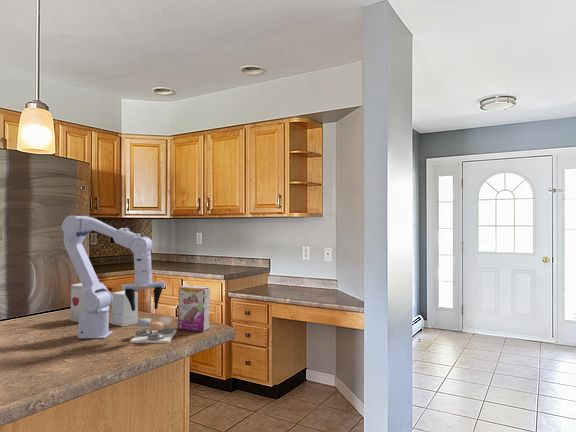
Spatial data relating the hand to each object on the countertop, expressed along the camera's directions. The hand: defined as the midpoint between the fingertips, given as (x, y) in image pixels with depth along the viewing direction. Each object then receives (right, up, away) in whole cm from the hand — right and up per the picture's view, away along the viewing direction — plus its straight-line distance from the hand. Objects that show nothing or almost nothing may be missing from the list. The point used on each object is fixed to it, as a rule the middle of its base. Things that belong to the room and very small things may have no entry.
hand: (144, 309), depth 151 cm
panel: (+3, -10, +2) cm, 11 cm away
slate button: (-1, -6, +2) cm, 7 cm away
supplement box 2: (-15, -10, +20) cm, 27 cm away
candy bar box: (+14, -11, +13) cm, 22 cm away
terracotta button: (+5, -6, -2) cm, 8 cm away
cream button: (+6, -6, +6) cm, 10 cm away
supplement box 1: (-32, -10, +25) cm, 42 cm away
